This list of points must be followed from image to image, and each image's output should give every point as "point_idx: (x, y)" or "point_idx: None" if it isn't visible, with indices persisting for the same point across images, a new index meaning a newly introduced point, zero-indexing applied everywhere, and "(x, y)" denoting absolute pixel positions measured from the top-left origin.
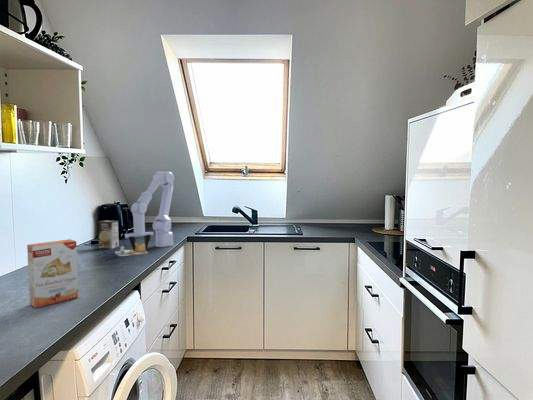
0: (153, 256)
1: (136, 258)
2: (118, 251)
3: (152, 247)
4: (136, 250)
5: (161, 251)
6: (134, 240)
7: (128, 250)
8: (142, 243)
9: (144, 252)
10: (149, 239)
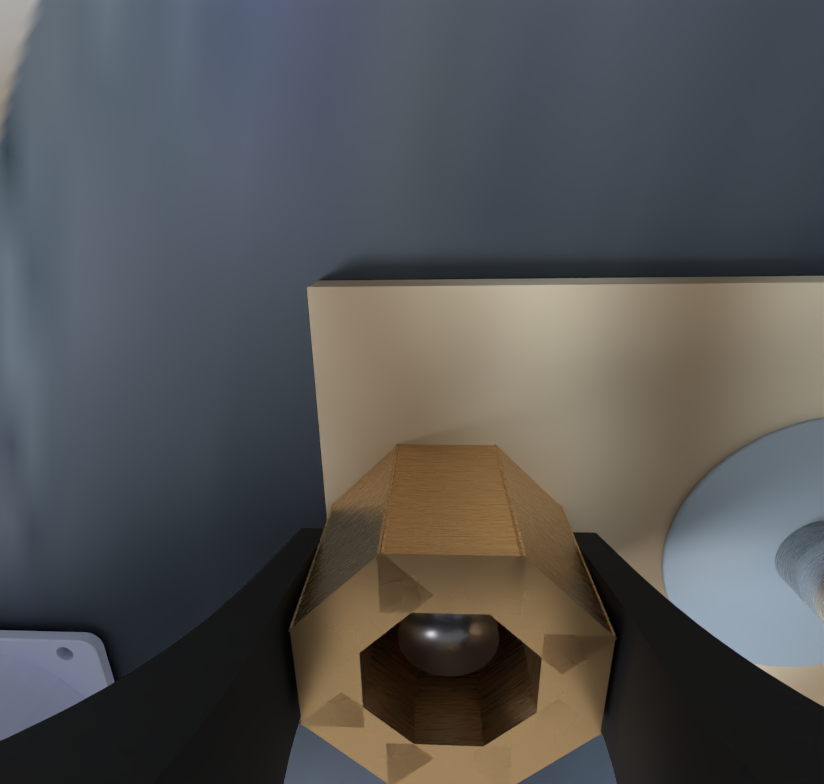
0: (238, 22)
1: (677, 24)
2: None
3: None
4: (547, 509)
5: (35, 447)
6: (748, 745)
7: None
8: (364, 709)
9: (387, 386)
10: (82, 708)
